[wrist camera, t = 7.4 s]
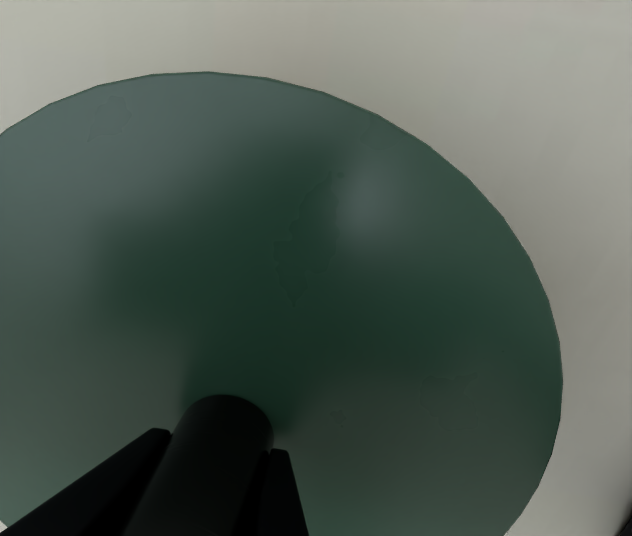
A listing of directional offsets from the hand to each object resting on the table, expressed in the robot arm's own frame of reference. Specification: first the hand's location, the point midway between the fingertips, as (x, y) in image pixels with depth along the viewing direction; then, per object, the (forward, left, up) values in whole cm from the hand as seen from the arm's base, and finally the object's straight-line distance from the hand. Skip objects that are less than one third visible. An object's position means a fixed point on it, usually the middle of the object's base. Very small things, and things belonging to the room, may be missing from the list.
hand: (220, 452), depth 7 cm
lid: (0, 0, -1) cm, 1 cm away
